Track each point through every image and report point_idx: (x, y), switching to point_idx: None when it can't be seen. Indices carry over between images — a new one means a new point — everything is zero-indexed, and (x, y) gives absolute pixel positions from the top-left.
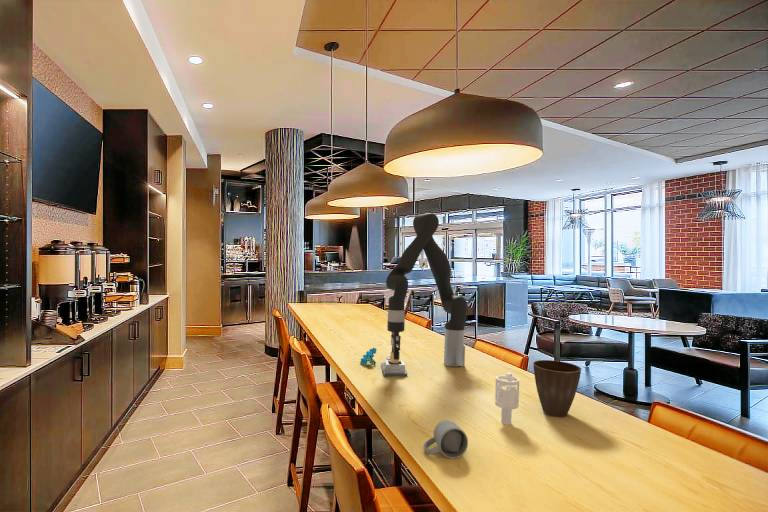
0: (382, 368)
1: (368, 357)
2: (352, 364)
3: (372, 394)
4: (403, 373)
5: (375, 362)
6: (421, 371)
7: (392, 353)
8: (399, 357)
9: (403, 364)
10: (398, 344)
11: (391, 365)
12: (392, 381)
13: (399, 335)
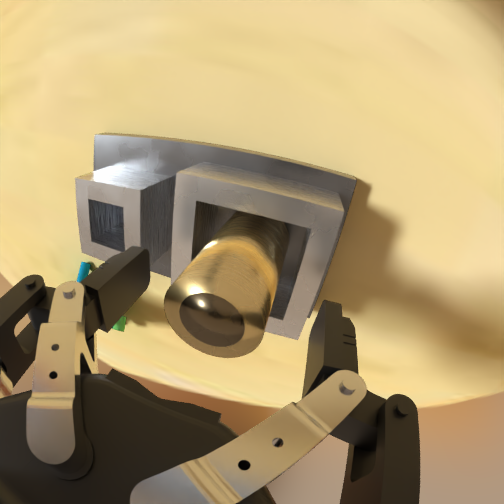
0: None
1: None
2: (115, 342)
3: (474, 384)
4: (343, 205)
5: (86, 265)
6: (243, 34)
7: (246, 352)
8: (249, 257)
9: (320, 217)
10: (406, 474)
11: (308, 310)
12: (407, 297)
13: (64, 465)
